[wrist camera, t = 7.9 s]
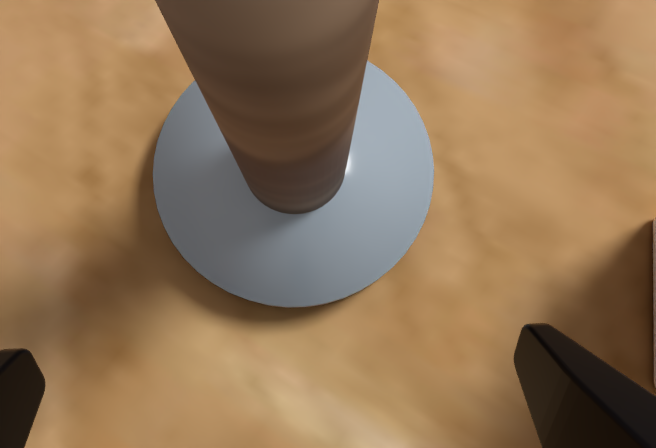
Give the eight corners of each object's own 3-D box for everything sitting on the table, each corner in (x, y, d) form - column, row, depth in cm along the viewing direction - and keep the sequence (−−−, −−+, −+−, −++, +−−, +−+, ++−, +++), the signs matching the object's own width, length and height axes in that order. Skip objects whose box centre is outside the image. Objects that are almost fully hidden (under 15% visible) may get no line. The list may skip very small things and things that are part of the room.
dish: (427, 313, 17) (435, 313, 16) (146, 301, 17) (133, 300, 15) (425, 65, 19) (431, 48, 18) (180, 52, 19) (171, 34, 18)
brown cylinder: (316, 232, 16) (316, 55, 5) (224, 184, 16) (53, -71, 6) (363, 145, 17) (442, -157, 6) (275, 102, 17) (207, -257, 7)
